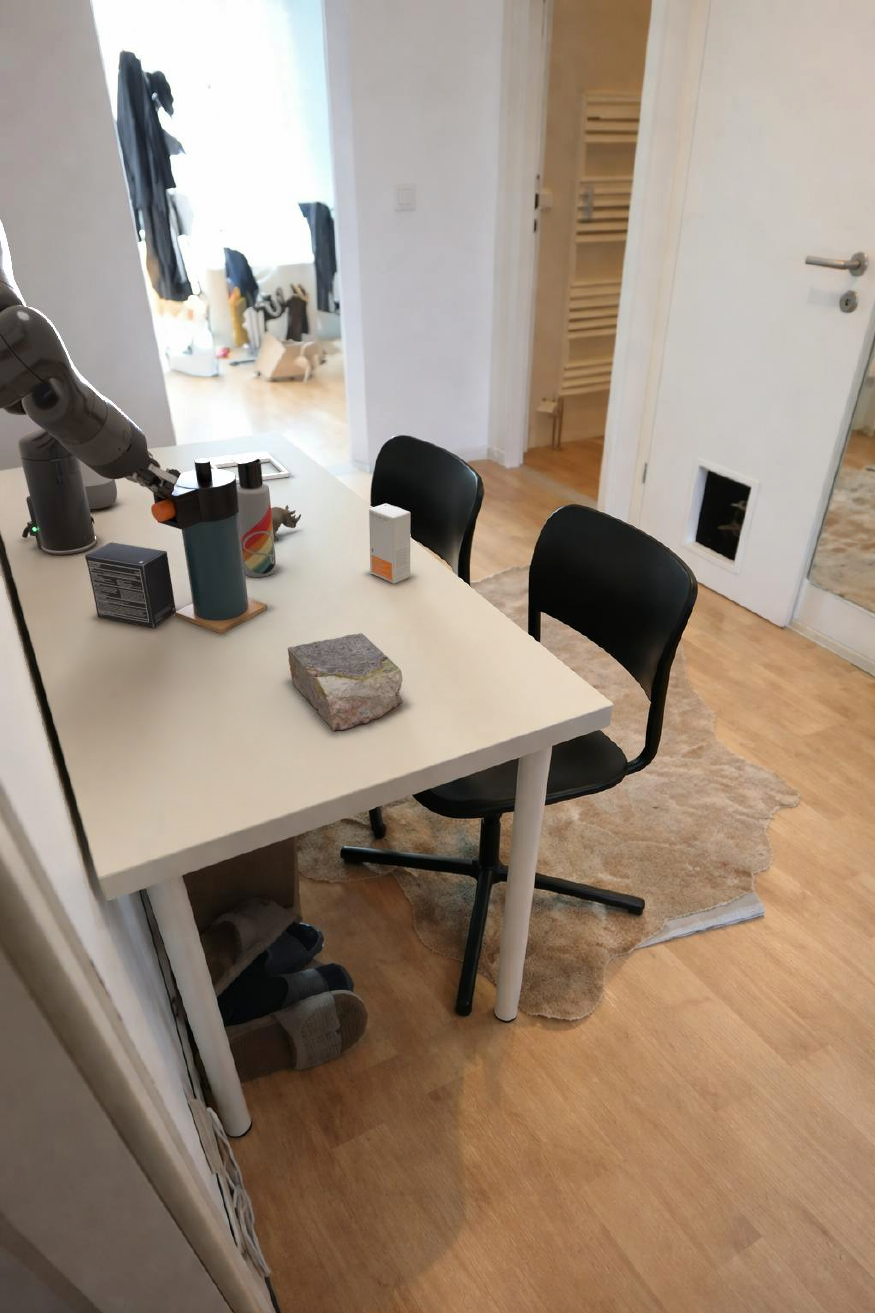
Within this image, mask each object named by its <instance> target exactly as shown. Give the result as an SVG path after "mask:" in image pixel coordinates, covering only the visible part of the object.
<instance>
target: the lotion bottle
mask: <svg viewBox="0 0 875 1313" xmlns="http://www.w3.org/2000/svg"><path fill="white" fill-rule="evenodd" d="M262 475H263V470H262V463H261V460H260V459H259V458H258V457H246V458H243V459H241V460H239V461H238V462H237V476H238V478H239V483H238V484H237V492H238V502H239V512H238V514H239V523H240V532H241V541H242V550H243V559H244V568H245V576H248V577H251V578H265V577H268V576H271V575H273V574H274V573H275V572H276V570H277V561H276V559H277V558H276V548H275V541H274V536H273V525H272V514H271V508H272V504H271V495H270V494H271V493H270V487H269V485H268V484H266V483H264V482H263V481H264V480H262Z"/></svg>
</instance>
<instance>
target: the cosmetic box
mask: <svg viewBox="0 0 875 1313" xmlns="http://www.w3.org/2000/svg"><path fill="white" fill-rule="evenodd" d="M411 514H412V513H411V512H410V511H408V510H406V509H403V508H401V507H399V506H395V505H391V504H389V503H387V502H386V503H383V504H380V505H376V506H374V507H371V508H369V509H368V521H369V522H368V523H369V524H368V526H369V571H370V574H371V575H374V576H376V577H377V578H380V579H383V580H385V581H387V582H389V583H391V584H393V585H395V584H396V583H397V584H398V583H400V582H401V581H404V580H406V579H409V578H410V577H411Z"/></svg>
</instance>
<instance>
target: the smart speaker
mask: <svg viewBox="0 0 875 1313" xmlns="http://www.w3.org/2000/svg"><path fill="white" fill-rule="evenodd" d="M80 465H81V469H82V474H83V479H84V484H85V489H86V494H87V499H88V503H89V508H90V512H96V511H97V512H98V511H102V510H106V509H108V508H110V507H112V506H114V504H115V503H116V501H117V498H118V489H117V488H118V487H117V483H116V479H108V478H105V477H102V476H100V475H99V474H97V473H96V472H95V471H94V470H92V469H91V468H90V467H88V466H87V465H86V464H84V463H83V462H82V461H80Z"/></svg>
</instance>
